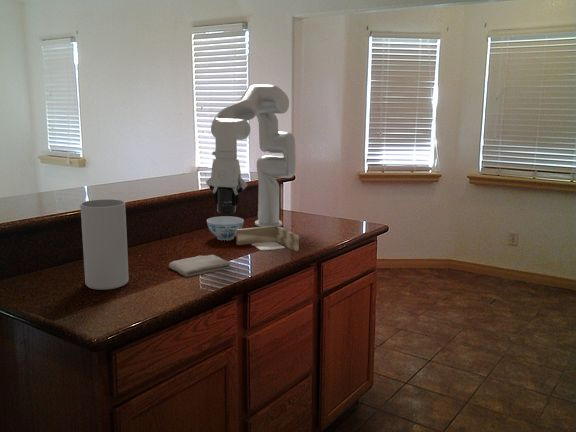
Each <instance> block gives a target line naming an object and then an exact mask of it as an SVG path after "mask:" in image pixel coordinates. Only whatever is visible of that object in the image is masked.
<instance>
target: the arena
mask: <svg viewBox="0 0 576 432" xmlns="http://www.w3.org/2000/svg"><path fill="white" fill-rule="evenodd" d="M299 242H300V236H299V234H297V233H294V232H292V231H290V230H289V229H286V228H284V227H282V226H278V225H276V226H266V227H260V226H256V227H248V228H247V227H246V228H242V229H237V235H236V245H238V246H240V245H241V246H242V245H251V246H253V247H255V248H256V249H258V250H259V251H261V252H265V251H266V252H267V251H275V250H283V249H286V247H287V248H288V249H290V250H291V251H293V252H298V251H299V249H300V248H299V247H300V245H299V244H300V243H299Z"/></svg>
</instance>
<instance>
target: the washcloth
mask: <svg viewBox="0 0 576 432" xmlns="http://www.w3.org/2000/svg"><path fill="white" fill-rule="evenodd" d="M230 265H231V262H230V261H228V260H225V259H223V258H222V257H220V256H218V255H215V254H209V255H197V256H192V257H187V258H181V259H177V260H173V261H171V262H169V264H168V268H170V269H171V270H173V271H175V272H177V273H178V274H180V275H182V276H184V277H186V278H187V277H191V276H196V275H201V274H202V275H203V274H205V273H206V274H207V273H211V272H216V271H221V270H226V268H227V269H230V268H231V266H230Z"/></svg>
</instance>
